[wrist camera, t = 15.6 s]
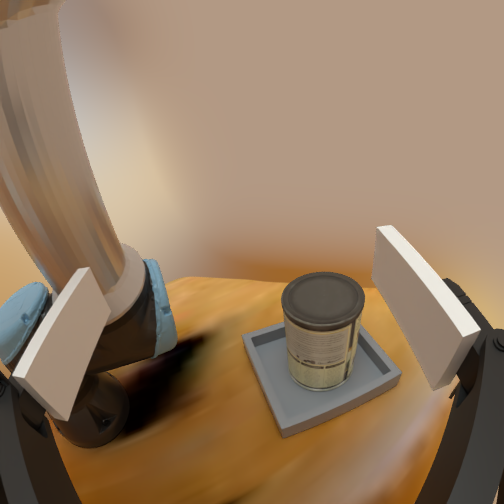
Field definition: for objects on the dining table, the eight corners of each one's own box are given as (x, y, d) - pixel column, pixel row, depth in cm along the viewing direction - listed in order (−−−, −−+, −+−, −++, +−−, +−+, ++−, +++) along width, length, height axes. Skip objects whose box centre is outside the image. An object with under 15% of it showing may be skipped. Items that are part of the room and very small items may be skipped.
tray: (283, 438, 32) (281, 429, 30) (244, 347, 47) (241, 335, 46) (396, 385, 35) (402, 372, 34) (339, 314, 51) (340, 301, 49)
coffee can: (283, 347, 45) (275, 277, 38) (343, 335, 45) (348, 265, 38) (292, 398, 36) (288, 332, 29) (361, 383, 36) (378, 314, 29)
